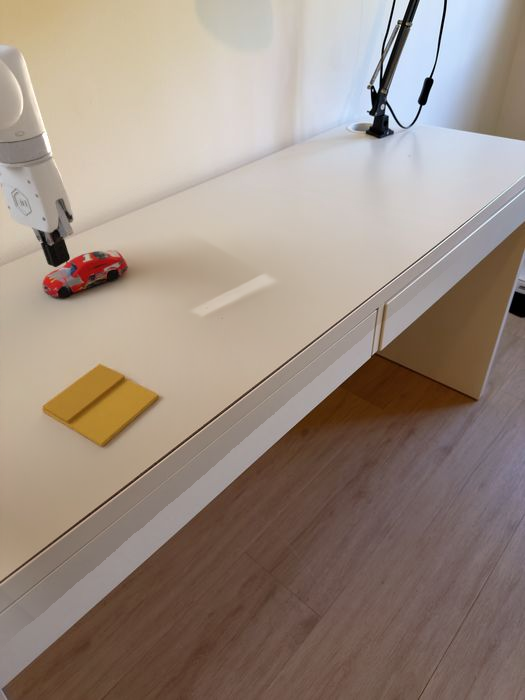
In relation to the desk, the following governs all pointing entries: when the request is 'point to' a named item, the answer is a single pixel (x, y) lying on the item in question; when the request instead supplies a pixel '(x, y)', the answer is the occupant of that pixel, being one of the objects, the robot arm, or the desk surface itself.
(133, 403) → the rag
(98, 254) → the race car
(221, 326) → the desk surface
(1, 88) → the robot arm
